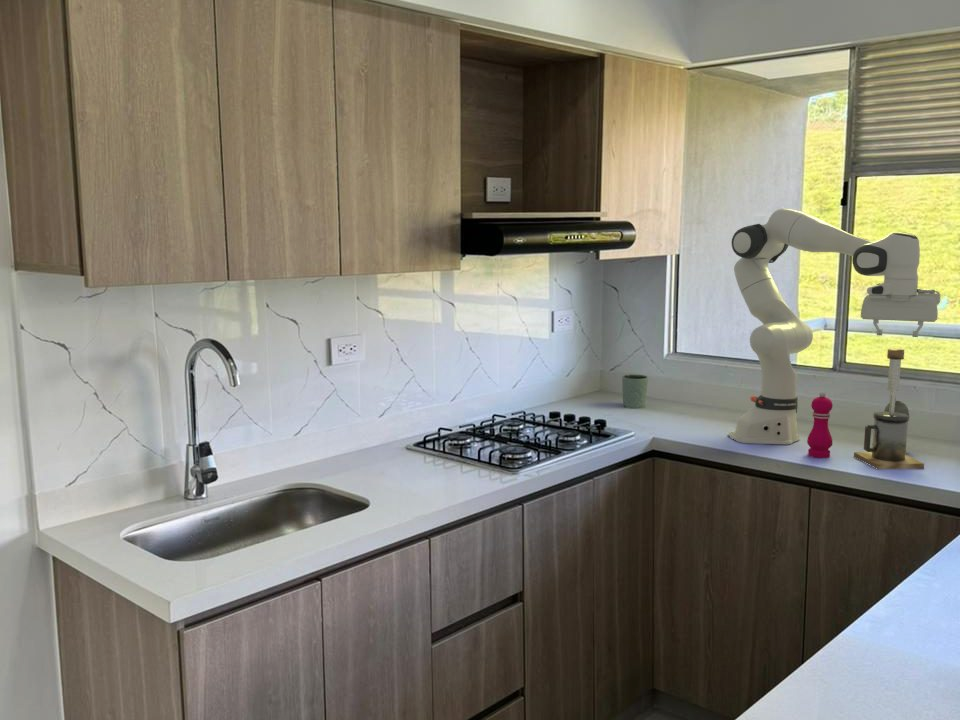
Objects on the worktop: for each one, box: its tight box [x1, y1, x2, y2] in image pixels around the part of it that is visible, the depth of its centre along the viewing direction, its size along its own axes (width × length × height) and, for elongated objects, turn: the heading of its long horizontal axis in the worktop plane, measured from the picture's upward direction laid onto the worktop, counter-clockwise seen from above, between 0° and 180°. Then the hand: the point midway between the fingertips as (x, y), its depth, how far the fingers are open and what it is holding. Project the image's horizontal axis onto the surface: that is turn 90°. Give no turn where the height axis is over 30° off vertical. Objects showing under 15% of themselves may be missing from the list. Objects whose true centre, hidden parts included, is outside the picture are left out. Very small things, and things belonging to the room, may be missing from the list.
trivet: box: [853, 451, 925, 470], centre depth 257 cm, size 14×14×2 cm
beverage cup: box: [883, 394, 910, 416], centre depth 271 cm, size 7×7×20 cm
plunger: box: [886, 348, 905, 392], centre depth 253 cm, size 4×4×12 cm
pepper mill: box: [806, 391, 834, 459], centre depth 263 cm, size 7×7×20 cm
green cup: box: [621, 373, 649, 409], centre depth 339 cm, size 10×10×12 cm
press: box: [863, 391, 910, 462], centre depth 255 cm, size 12×10×22 cm
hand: (897, 336), depth 251 cm, fingers open, 8 cm apart
